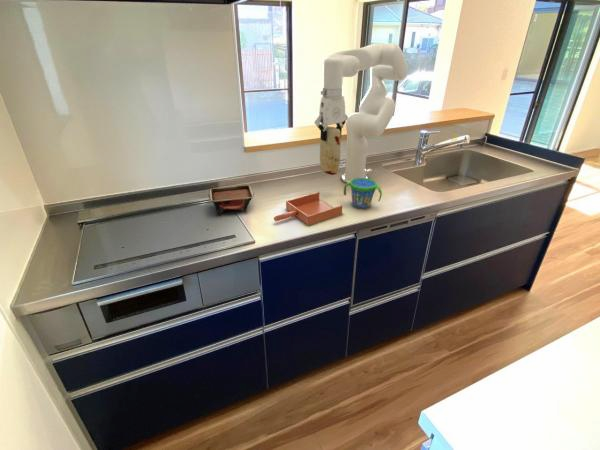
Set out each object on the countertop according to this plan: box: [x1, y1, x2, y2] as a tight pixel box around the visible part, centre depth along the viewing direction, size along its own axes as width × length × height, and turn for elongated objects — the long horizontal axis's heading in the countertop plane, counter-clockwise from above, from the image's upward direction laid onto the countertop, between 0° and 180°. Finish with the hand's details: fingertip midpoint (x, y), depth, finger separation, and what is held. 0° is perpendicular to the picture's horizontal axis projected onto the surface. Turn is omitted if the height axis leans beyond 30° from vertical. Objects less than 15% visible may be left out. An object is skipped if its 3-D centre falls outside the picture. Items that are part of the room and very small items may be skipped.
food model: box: [319, 125, 342, 176], centre depth 144 cm, size 10×7×20 cm
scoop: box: [273, 191, 343, 226], centre depth 136 cm, size 26×16×4 cm, turn 123°
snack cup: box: [343, 178, 383, 209], centre depth 142 cm, size 16×10×10 cm
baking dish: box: [208, 184, 255, 216], centre depth 142 cm, size 14×18×10 cm
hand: (331, 138), depth 141 cm, fingers closed on food model, 6 cm apart
